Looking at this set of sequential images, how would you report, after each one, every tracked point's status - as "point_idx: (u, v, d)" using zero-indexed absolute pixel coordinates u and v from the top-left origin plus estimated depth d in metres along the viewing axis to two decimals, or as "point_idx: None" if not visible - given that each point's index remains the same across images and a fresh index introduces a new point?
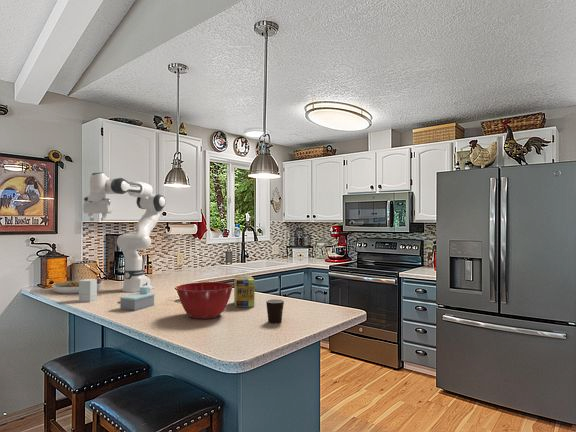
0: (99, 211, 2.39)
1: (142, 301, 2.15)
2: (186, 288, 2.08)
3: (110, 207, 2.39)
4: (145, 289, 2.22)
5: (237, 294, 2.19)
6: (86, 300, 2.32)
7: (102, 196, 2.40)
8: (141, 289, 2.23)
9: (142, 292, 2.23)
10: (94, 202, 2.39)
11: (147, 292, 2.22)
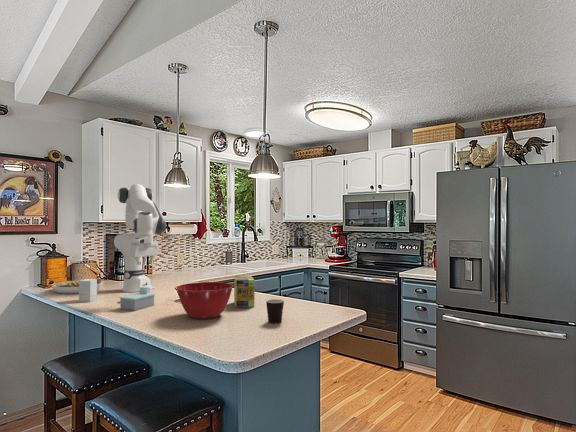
0: (151, 253, 2.26)
1: (142, 301, 2.15)
2: (186, 288, 2.08)
3: None
4: (145, 289, 2.22)
5: (237, 294, 2.19)
6: (86, 300, 2.32)
7: None
8: (141, 289, 2.23)
9: (142, 292, 2.23)
10: (149, 244, 2.24)
11: (147, 292, 2.22)
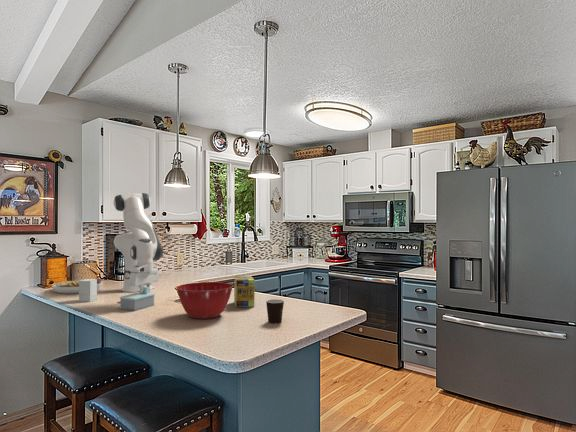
0: (151, 280, 2.26)
1: (142, 301, 2.15)
2: (186, 288, 2.08)
3: None
4: (145, 289, 2.22)
5: (237, 294, 2.19)
6: (86, 300, 2.32)
7: None
8: None
9: (142, 292, 2.23)
10: (149, 272, 2.23)
11: (147, 292, 2.22)
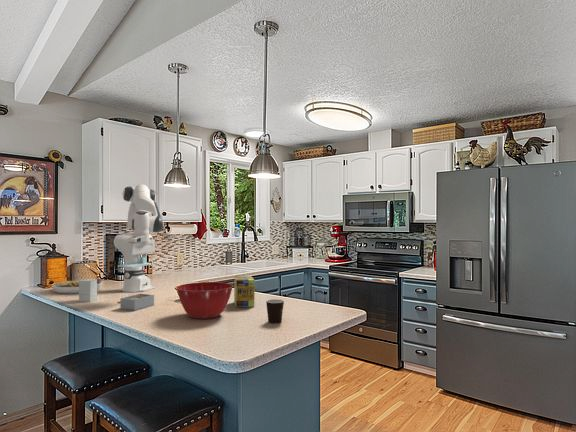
0: (148, 250, 2.38)
1: (142, 301, 2.15)
2: (186, 288, 2.08)
3: None
4: (142, 259, 2.34)
5: (237, 294, 2.19)
6: (86, 300, 2.32)
7: None
8: None
9: None
10: (146, 242, 2.35)
11: (144, 261, 2.35)
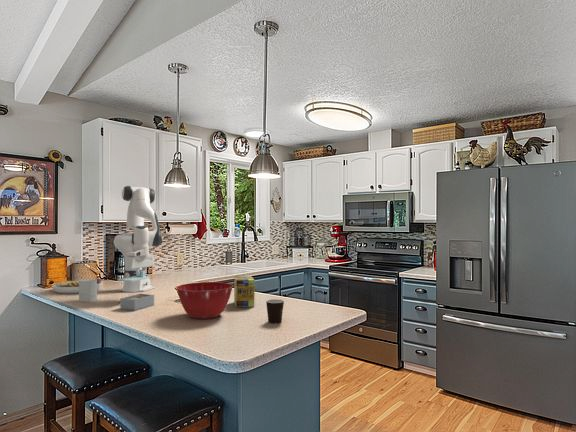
0: (147, 264, 2.41)
1: (142, 301, 2.15)
2: (186, 288, 2.08)
3: None
4: (141, 272, 2.37)
5: (237, 294, 2.19)
6: (86, 300, 2.32)
7: None
8: None
9: None
10: (145, 256, 2.38)
11: (143, 275, 2.37)
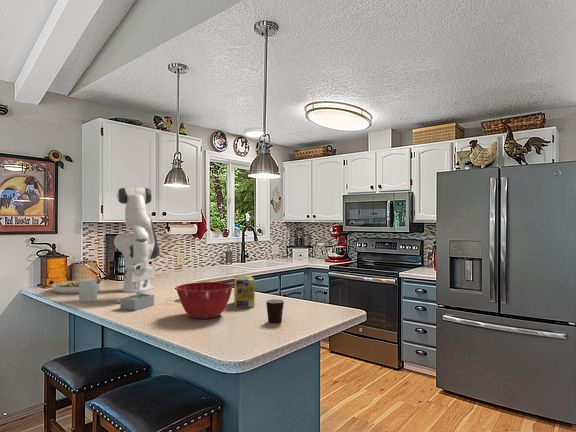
0: (147, 277, 2.41)
1: (142, 301, 2.15)
2: (186, 288, 2.08)
3: None
4: (141, 293, 2.37)
5: (237, 294, 2.19)
6: (86, 300, 2.32)
7: None
8: (138, 293, 2.39)
9: None
10: (145, 269, 2.38)
11: None
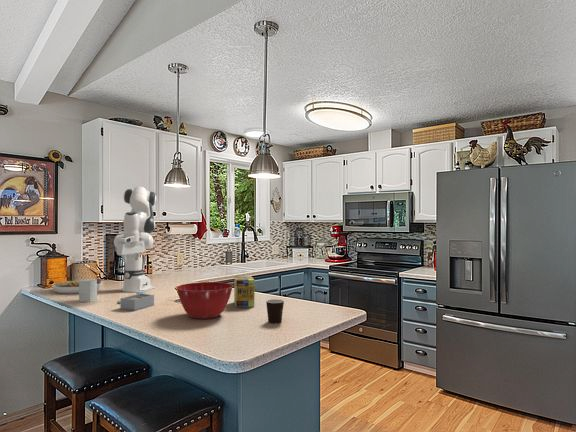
0: (137, 251, 2.41)
1: (142, 301, 2.15)
2: (186, 288, 2.08)
3: None
4: (141, 293, 2.37)
5: (237, 294, 2.19)
6: (86, 300, 2.32)
7: None
8: (138, 293, 2.39)
9: None
10: (136, 243, 2.38)
11: None
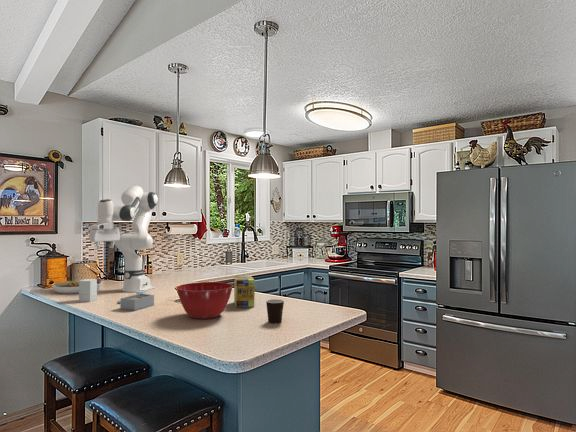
0: (112, 238, 2.40)
1: (142, 301, 2.15)
2: (186, 288, 2.08)
3: None
4: (141, 293, 2.37)
5: (237, 294, 2.19)
6: (86, 300, 2.32)
7: None
8: (138, 293, 2.39)
9: None
10: (110, 230, 2.37)
11: None
